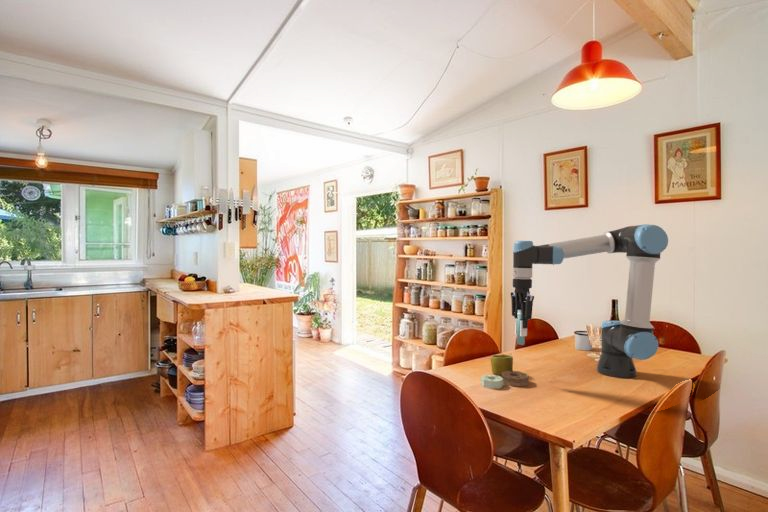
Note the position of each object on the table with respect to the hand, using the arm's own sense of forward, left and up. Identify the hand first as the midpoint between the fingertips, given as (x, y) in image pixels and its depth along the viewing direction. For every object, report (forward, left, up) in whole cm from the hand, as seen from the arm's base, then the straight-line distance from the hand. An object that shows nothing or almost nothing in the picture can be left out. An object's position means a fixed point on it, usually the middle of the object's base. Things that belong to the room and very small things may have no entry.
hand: (520, 334), depth 167 cm
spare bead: (+11, +7, -19) cm, 24 cm away
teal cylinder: (0, 0, -4) cm, 4 cm away
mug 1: (+7, -10, -20) cm, 24 cm away
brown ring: (+2, +1, -19) cm, 20 cm away
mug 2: (-37, -66, -20) cm, 79 cm away
